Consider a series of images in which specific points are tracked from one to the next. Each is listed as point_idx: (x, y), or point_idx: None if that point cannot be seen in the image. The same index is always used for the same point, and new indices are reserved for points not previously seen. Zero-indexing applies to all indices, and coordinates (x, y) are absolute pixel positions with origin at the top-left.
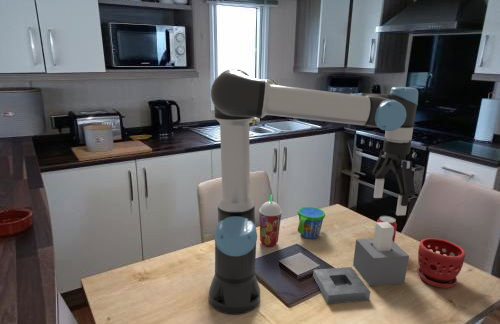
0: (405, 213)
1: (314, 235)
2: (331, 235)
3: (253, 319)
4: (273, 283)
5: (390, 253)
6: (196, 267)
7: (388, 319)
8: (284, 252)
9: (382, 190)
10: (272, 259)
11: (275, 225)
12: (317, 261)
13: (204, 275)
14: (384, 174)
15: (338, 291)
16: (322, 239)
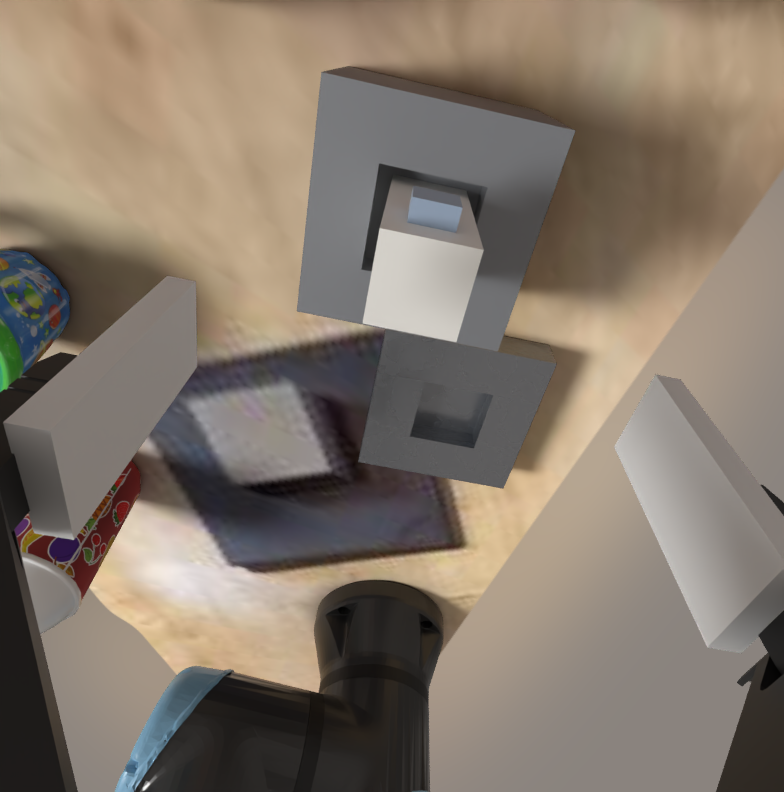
0: (687, 392)
1: (61, 304)
2: (23, 180)
3: (468, 613)
4: (353, 539)
5: (500, 231)
6: (235, 646)
7: (656, 348)
8: (182, 449)
9: (153, 330)
10: (224, 498)
11: (99, 542)
12: (264, 376)
13: (274, 641)
14: (10, 543)
15: (501, 455)
16: (72, 255)
